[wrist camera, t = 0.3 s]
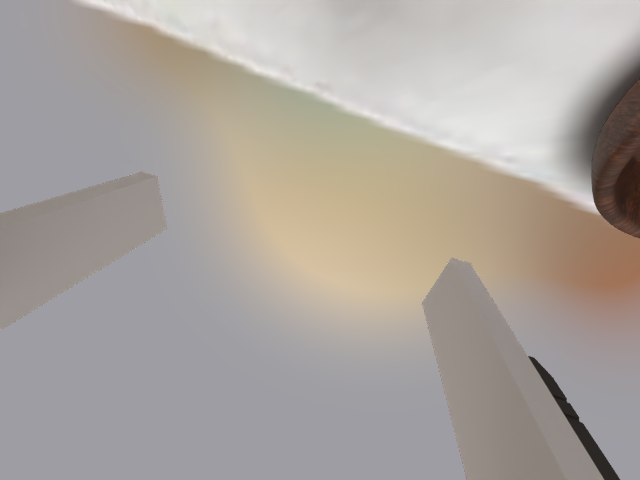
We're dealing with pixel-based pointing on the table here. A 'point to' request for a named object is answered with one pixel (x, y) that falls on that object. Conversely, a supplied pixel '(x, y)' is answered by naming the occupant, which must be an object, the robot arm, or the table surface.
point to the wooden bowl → (619, 165)
